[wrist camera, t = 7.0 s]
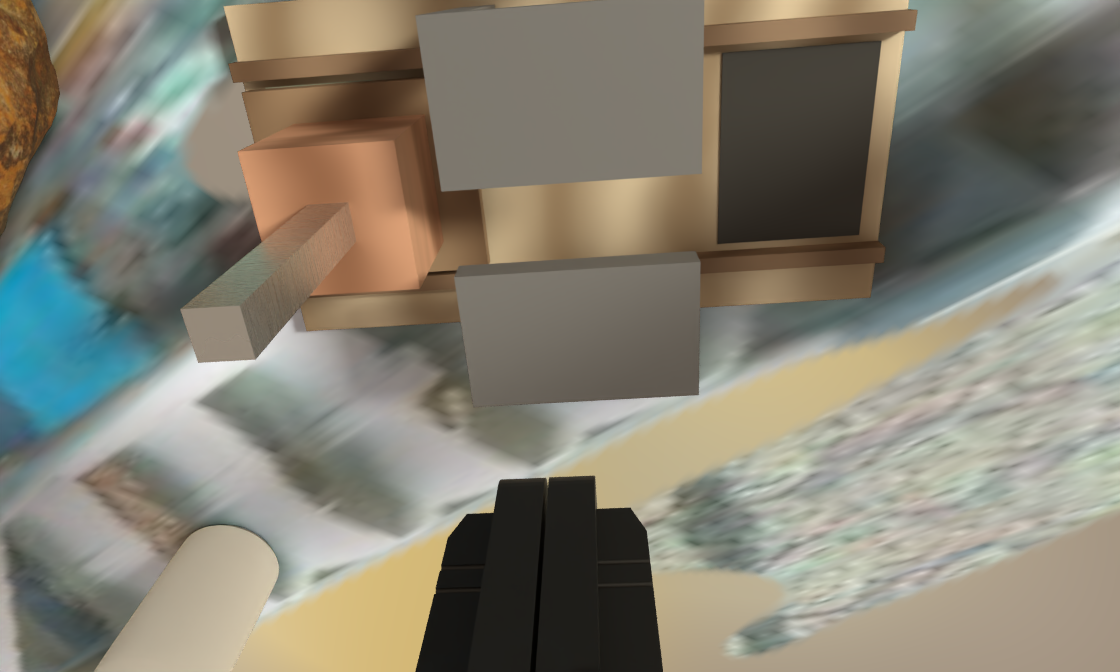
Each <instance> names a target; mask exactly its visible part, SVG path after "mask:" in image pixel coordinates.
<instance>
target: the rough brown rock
mask: <svg viewBox="0 0 1120 672" xmlns="http://www.w3.org/2000/svg"><path fill="white" fill-rule="evenodd" d="M59 95H60V92H59V86H58V81H57V76H56V71H55V69H54V67H53V65H52V63H51V60H50V55H49V51H48V45H47V38H46V34H45V31H44V29H43V26H42V24H41V22H40V19H39V17H38V15H37V12H36V10H35V8H34V6H33V4H32V1H31V0H0V237H1V235H2V233H3V232H4V230H5V228H6V223H7V218H8V213H9V210H10V207H11V204H12V202H13V199H14V197H15V195H16V193H17V190H18V188H19V186H20V184H21V182H22V180H23V177H24V174H25V171H26V169H27V166H28V164H29V162H30V160H31V159H32V157H33V155H34V154H35V152H36V150H37V148H38V147H39V145H40V143H41V142H42V140H43V138H44V136H45V134H46V133H47V131H48V130H49V128H50V127H51V125H52V122H53V120H54V117H55V114H56V112H57V105H58V99H59Z"/></svg>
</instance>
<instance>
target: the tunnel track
mask: <svg viewBox="0 0 1120 672" xmlns="http://www.w3.org/2000/svg"><path fill="white" fill-rule="evenodd" d="M908 2H909V0H296V1H283V2H271V3H259V4H247V5H235V6H224V9H225V13H226V17H227V21H228V25H229V29H230V33H231V37H232V40H233V44H234V48H235V52H236V56H237V60H238V62H234V63H230V64H229V68H230V72H231V76H232V80H233V83H237V82H243V84H244V87H245V91H249V90H255V89H268V88H281V87H295V86H308V85H321V84H334V83H347V82H360V81H373V80H386V79H399V78H413V77H424V78H425V85H426V91H427V98H428V105H429V112H430V118H431V125H432V132H433V139H434V145H435V152H436V159H437V165H438V172H439V179H440V186H441V192H443V191H458V190H472V189H481V190H482V198H483V206H484V214H485V222H486V230H487V238H488V246H489V255H490V264H480V265H464V266H459V267H458V269H457V270H452V271H436V272H428V274H427V276H426V278H425V280H424V282H423V284H422V286H421V288H420V289H411V290H395V291H379V292H362V293H346V294H330V295H314V296H309V297H308V299H307V300H306V301H305V302H304V303H303V304H302V306H301V311H302V315H303V318H304V322H305V326H306V330H307V331H316V330H333V329H350V328H366V327H383V326H400V325H417V324H433V323H450V322H461V327H462V334H463V340H464V347H465V354H466V361H467V367H468V374H469V381H470V388H471V394H472V401H473V407H485V406H503V405H522V404H540V403H559V402H578V401H596V400H615V399H633V398H652V397H671V396H689V395H699V336H700V308H702V307H719V306H736V305H752V304H769V303H786V302H803V301H820V300H836V299H853V298H870V297H871V289H872V281H873V274H874V266H875V263H884V255H885V248H886V247H885V246H883V245H882V244H881V243H880V242H879V241H878V235H879V227H880V219H881V212H882V204H883V196H884V188H885V181H886V173H887V165H888V157H889V150H890V142H891V134H892V126H893V119H894V111H895V103H896V95H897V88H898V80H899V72H900V64H901V57H902V49H903V41H904V33H905V31H913V30H915V25H916V18H917V10H911V9H908Z"/></svg>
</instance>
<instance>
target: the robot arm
mask: <svg viewBox="0 0 1120 672" xmlns="http://www.w3.org/2000/svg"><path fill="white" fill-rule="evenodd" d="M441 567H442V569H441V571H440V573H439V577H438V581H437V585H436V594H434V598H433V602H432V606H431V610H430V614H429V618H428V622H427V626H426V631H425V635H424V639H423V643H422V647H421V651H420V655H419V659H418V663H417V668H416V672H663V667H662V658H661V650H660V641H659V634H658V624H657V615H656V607H655V598H654V591H653V582H652V573H651V564H650V555H649V547H648V538H647V531H646V529H645V528H644V526H643V525H642V524H641V522H640V521H639V519H638V518H637V517H636V515H635V514H634V512H633V511H632V510H631V508H609V509H597V500H596V485H595V476H575V477H550V478H549V483H548V485H547V480H546V478H530V479H505V480H500V481H499V485H498V490H497V496H496V502H495V508H494V513H480V514H467V515H466V516H465V517H464V518H463V520H462V521H461V522H460V523H459V525H458V526H457V527H456V528H455V530H454V531H453V532H452V534H451V535H450V536H449V537H448V540H447V544H446V548H445V552H444V557H443V561H442V564H441Z"/></svg>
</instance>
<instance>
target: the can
mask: <svg viewBox="0 0 1120 672" xmlns="http://www.w3.org/2000/svg"><path fill="white" fill-rule="evenodd" d="M278 574H279V565H278V561H277V558H276V556H275V554H274V552H273V550H272V548H271V547H270V546H269V544H268V543H267V542H266V541H265V540H264V539H262V538H261V537H260V536H258V535H257V534H255V533H253V532H252V531H249V530H247V529H245V528H242V527H238V526H233V525H215V526H208V527H205V528H202V529H199V530H197V531H195V532H194V533H192V534H191V535H190V536H189V537H188V538H187V539H186V540H185V541H184V543H183V544H182V545H181V547H180V548H179V550H178V551H177V552H176V554H175V555H174V557H173V558H172V559H171V561H170V562H169V564H168V565H167V566H166V568H165V569H164V571H163V572H162V574H161V575H160V576H159V578H158V579H157V581H156V582H155V584H154V585H153V586H152V588H151V589H150V591H149V592H148V594H147V595H146V596H145V598H144V599H143V601H142V602H141V604H140V605H139V606H138V608H137V609H136V611H135V612H134V614H133V615H132V616H131V618H130V619H129V621H128V622H127V624H126V625H125V626H124V628H123V629H122V631H121V632H120V634H119V635H118V637H117V638H116V639H115V641H114V642H113V644H112V645H111V647H110V648H109V650H108V651H107V653H106V654H105V655H104V657H103V658H102V660H101V661H100V663H99V664H98V666H97V667H96V669H95V671H94V672H231V671H232V669H233V668H234V665H235V663H236V661H237V660H238V657H239V656H240V653H241V651H242V650H243V648H244V645H245V644H246V642H247V640H248V638H249V636H250V634H251V632H252V630H253V628H254V626H255V624H256V622H257V620H258V618H259V616H260V613H261V611H262V609H263V607H264V605H265V603H266V601H267V599H268V597H269V595H270V593H271V591H272V589H273V587H274V585H275V583H276V580H277V578H278Z"/></svg>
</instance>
